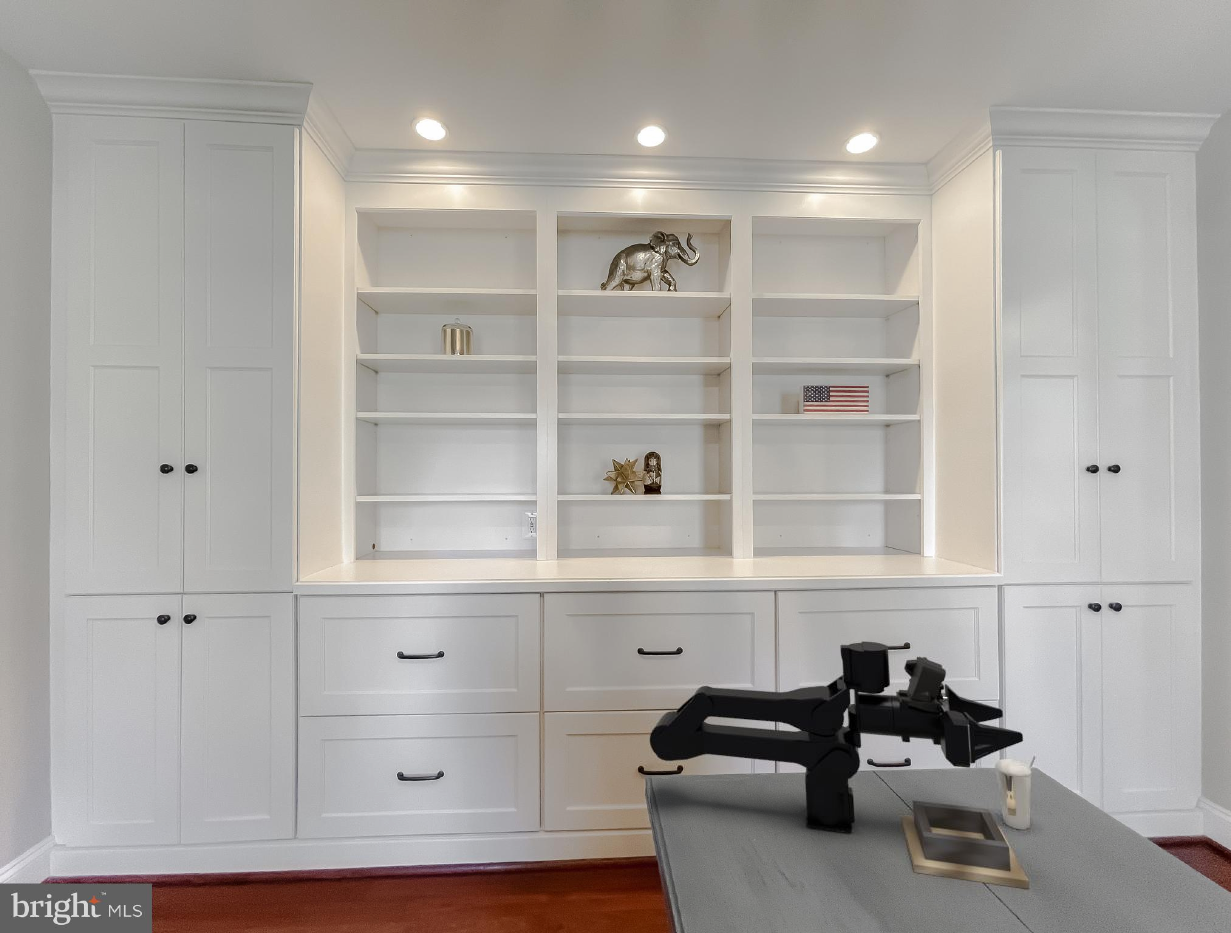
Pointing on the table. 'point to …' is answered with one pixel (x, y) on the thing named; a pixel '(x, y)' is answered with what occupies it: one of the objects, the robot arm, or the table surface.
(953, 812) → the dock
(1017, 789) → the milkshake
